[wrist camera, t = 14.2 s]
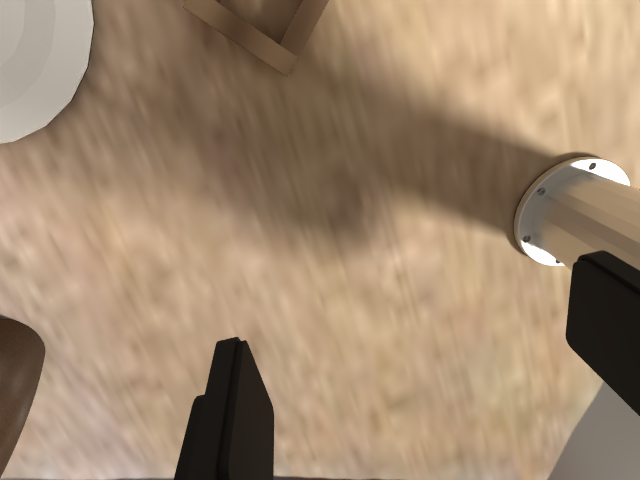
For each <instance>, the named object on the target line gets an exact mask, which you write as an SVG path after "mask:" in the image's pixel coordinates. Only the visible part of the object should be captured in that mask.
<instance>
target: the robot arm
mask: <svg viewBox="0 0 640 480" xmlns="http://www.w3.org/2000/svg"><path fill="white" fill-rule="evenodd" d="M514 234H515V239H516V241H517V244H518V246H519V247H520V249H521V250H522V251H523V252H524V253H525V254H526V255H527V256H528V257H530V258H531V259H533V260H534V261H536V262H538V263H541V264H544V265H550V266H562V265H565V266H566V267H568V268H569V269H570V270H572V277H571V287H570V297H569V307H568V316H567V326H566V340H567V342H568V344H569V346H570V347H571V348H572V349H573V350H574V351H575V352H576V353H577V354H578V355H579V356H580V357H581V358H582V359H583V360H584V361H585V362H586V363H587V364H588V365H589V366H590V367H591V368H592V369H593V370H594V371H595V372H596V373H597V374H598V375H599V376H600V377H601V378H602V379H603V380H604V381H605V382H606V383H607V384H608V385H609V386H610V387H611V388H612V389H613V390H614V391H615V392H616V393H617V394H618V395H619V396H620V397H621V398H622V399H623V400H624V401H625V402H626V403H627V404H628V405H629V406H630V407H631V408H632V409H633V410H634V411H635V412H636V413H637V414H638V415H639V416H640V189H637V188H634V187H632V186H630V182H629V180H628V178H627V176H626V174H625V172H624V171H623V170H622V169H621V168H620V167H619V166H617V165H616V164H614V163H613V162H610V161H608V160H605V159H602V158H597V157H578V158H573V159H569V160H567V161H564V162H562V163H559V164H557V165H556V166H554V167H552V168H551V169H549V170H547V171H546V172H545V173H544V174H542V175H541V176H540V177H539V178H537V180H536V181H535V182H534V183H533V184H532V185H531V186H530V187H529V188H528V190H527V191H526V193H525V194H524V196H523V197H522V199H521V201H520V203H519V206H518V208H517V211H516V215H515V219H514ZM273 464H274V411H273V406H272V403H271V401H270V398H269V396H268V393H267V391H266V388H265V386H264V383H263V381H262V378H261V375H260V373H259V370H258V368H257V365H256V363H255V360H254V358H253V355H252V353H251V350H250V348H249V345H248V343H247V341H246V340H244V341H240V339H239V338H238V337H234V338H230V339H226V340H221V341H218V342H217V343H216V347H215V351H214V356H213V360H212V365H211V369H210V374H209V378H208V383H207V387H206V392H205V394H204V395H200V396H197V397H196V398H195V399H194V402H193V405H192V409H191V413H190V417H189V421H188V425H187V429H186V433H185V437H184V441H183V445H182V449H181V453H180V457H179V461H178V465H177V469H176V473H175V477H174V480H273Z"/></svg>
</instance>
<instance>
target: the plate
mask: <svg viewBox="0 0 640 480" xmlns="http://www.w3.org/2000/svg"><path fill="white" fill-rule="evenodd" d="M93 31H94V15H93V6H92V0H0V144H1V143H8V142H14V141H16V140H18V139H20V138H22V137H24V136H26V135H28V134H30V133H32V132H35V131H37V130H39V129H41V128H43V127H45V126H47V125H48V124H49V123H50V122H51V121H52V120H53V119H54V118H55V117H56V116H57V115H58V114H59V113H60V112H61V111H62V110H63V109H64V108H65V107H66V106H67V105H68V104H69V103H70V102H71V101H72V99H73V97H74V95H75V93H76V91H77V89H78V87H79V85H80V83H81V81H82V79H83V76H84V74H85V72H86V70H87V68H88V65H89V58H90V52H91V45H92V38H93Z"/></svg>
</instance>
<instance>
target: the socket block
mask: <svg viewBox="0 0 640 480" xmlns="http://www.w3.org/2000/svg"><path fill="white" fill-rule="evenodd" d="M328 1H329V0H303V1H302V3H301V4H300V6H299V8H298V10H297V12H296V14H295V16H294V18H293V20H292V22H291V24H290V25H289V27H288V29H287V31H286V33H285V35H284V37H283V39H282V41H281V43H280V45H279V44H278V43H276V42H275V41H273V40H272V39H270V38H269V37H267V36H266V35H265V34H263V33H262V32H260V31H259V30H257V29H256V28H254V27H253V26H251V25H250V24H249V23H247V22H246V21H244V20H243V19H241V18H240V17H238V16H237V15H236V14H234V13H233V12H231V11H230V10H228V9H227V8H225V7H224V6H223V5H221V4H220V3H219V2H220V0H186V2H185V4H184V6H183V8H185V9H186V10H188V11H189V12H191V13H192V14H194V15H195V16H197V17H198V18H200V19H201V20H203V21H204V22H206V23H207V24H209V25H210V26H212V27H213V28H215V29H216V30H218V31H219V32H221V33H222V34H224V35H225V36H227V37H228V38H230V39H231V40H233V41H234V42H236V43H237V44H239V45H240V46H242V47H243V48H245V49H246V50H248V51H249V52H251V53H252V54H254V55H255V56H257V57H258V58H260V59H261V60H263V61H264V62H266V63H267V64H269V65H270V66H272V67H273V68H275V69H276V70H278V71H279V72H281V73H282V74H284V75H285V76H288V74H289V73H290V71H291V69H292V67H293V65H294V63H295V62H296V60H297V58H298V56H299V54H300V52H301V51H302V49H303V47H304V45H305V43H306V41H307V40H308V38H309V36H310V34H311V32H312V31H313V29H314V27H315V25H316V23H317V21H318V20H319V18H320V16H321V14H322V12H323V10H324V9H325V7H326V5H327V3H328Z"/></svg>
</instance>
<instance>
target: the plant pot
mask: <svg viewBox="0 0 640 480" xmlns="http://www.w3.org/2000/svg"><path fill="white" fill-rule="evenodd" d="M44 357H45V346H44V343H43V341H42V339H41V338H40V336H39V335H38V334H37V333H36V332H35V331H34V330H32V329H31V328H29V327H28V326H26V325H24V324H22V323H19V322H17V321H13V320H8V319H0V478H1V476H2V474H3V472H4V470H5V468H6V466H7V464H8V462H9V459H10V457H11V455H12V453H13V451H14V448H15V446H16V444H17V442H18V439H19V437H20V434H21V432H22V430H23V427H24V424H25V422H26V419H27V416H28V414H29V411H30V408H31V406H32V403H33V399H34V396H35V393H36V390H37V386H38V383H39V379H40V375H41V371H42V367H43V362H44Z"/></svg>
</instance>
